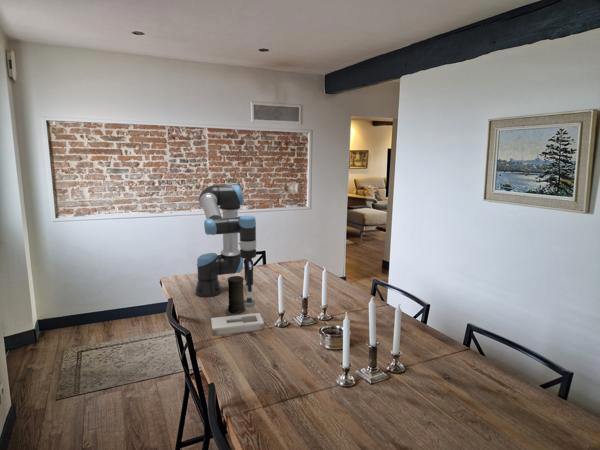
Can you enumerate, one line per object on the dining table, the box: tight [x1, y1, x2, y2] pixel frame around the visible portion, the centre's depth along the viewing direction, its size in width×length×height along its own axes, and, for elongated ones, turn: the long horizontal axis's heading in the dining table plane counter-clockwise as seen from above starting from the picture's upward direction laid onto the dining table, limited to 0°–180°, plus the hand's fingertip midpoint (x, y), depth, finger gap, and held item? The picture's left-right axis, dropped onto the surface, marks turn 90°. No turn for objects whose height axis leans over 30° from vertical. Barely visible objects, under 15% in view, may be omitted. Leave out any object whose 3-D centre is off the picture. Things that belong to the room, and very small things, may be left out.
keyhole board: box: [210, 312, 265, 336], centre depth 190 cm, size 12×24×3 cm, turn 106°
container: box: [227, 275, 246, 315], centre depth 208 cm, size 9×9×18 cm
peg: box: [244, 275, 256, 308], centre depth 188 cm, size 5×5×15 cm
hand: (249, 296), depth 189 cm, fingers closed on peg, 2 cm apart
